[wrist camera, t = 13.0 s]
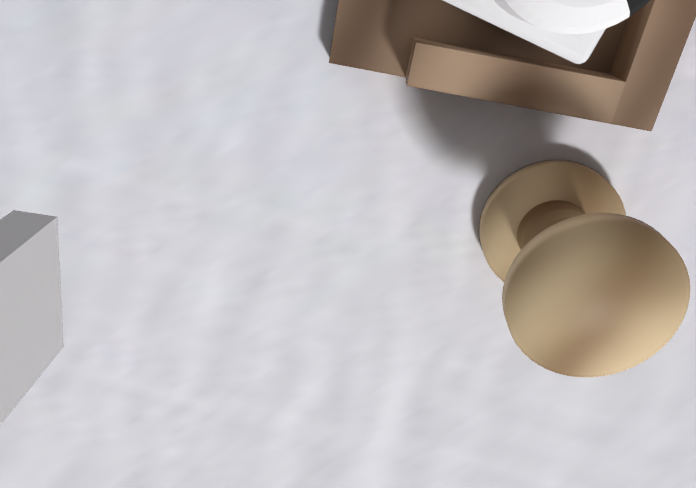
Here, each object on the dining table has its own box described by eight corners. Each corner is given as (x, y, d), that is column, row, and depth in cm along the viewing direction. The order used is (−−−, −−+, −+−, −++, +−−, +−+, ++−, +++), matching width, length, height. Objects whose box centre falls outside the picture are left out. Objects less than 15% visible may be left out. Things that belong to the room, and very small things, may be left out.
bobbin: (464, 274, 38) (485, 360, 29) (500, 148, 34) (535, 205, 26) (593, 297, 38) (650, 390, 30) (641, 174, 34) (720, 239, 26)
